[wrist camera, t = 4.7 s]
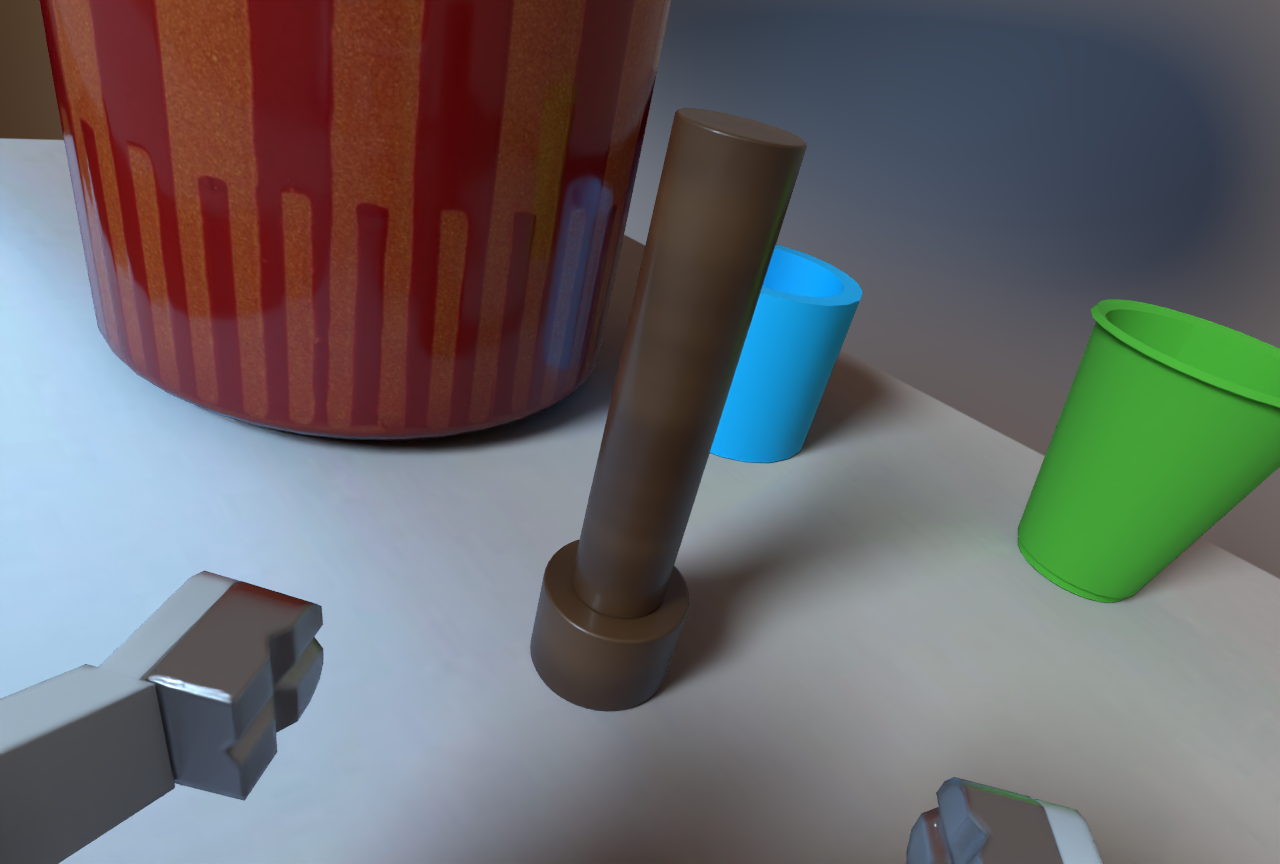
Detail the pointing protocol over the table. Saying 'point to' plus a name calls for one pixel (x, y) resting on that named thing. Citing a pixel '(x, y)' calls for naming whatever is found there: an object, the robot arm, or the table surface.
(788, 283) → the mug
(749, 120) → the pestle
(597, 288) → the planter
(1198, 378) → the cup
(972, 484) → the table surface
